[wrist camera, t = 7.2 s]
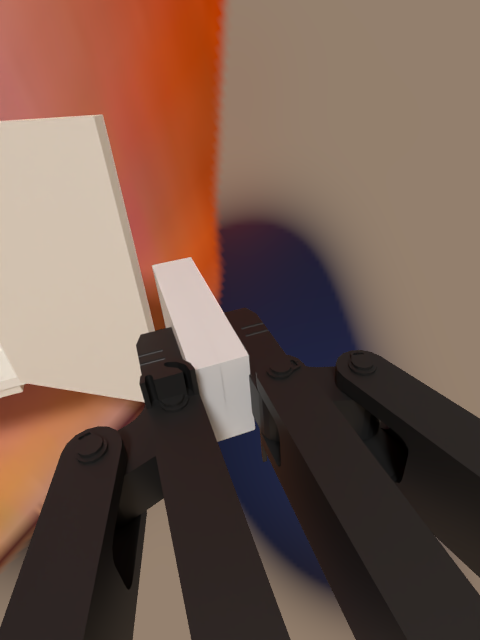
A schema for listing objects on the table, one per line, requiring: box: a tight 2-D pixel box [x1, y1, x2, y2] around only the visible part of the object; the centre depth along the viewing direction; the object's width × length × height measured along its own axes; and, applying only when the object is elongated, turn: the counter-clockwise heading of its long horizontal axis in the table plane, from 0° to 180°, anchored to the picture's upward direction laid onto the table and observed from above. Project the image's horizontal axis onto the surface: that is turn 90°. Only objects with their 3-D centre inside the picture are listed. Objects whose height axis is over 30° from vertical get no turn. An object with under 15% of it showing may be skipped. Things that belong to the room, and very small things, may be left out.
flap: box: [0, 115, 155, 402], centre depth 17 cm, size 9×13×1 cm
